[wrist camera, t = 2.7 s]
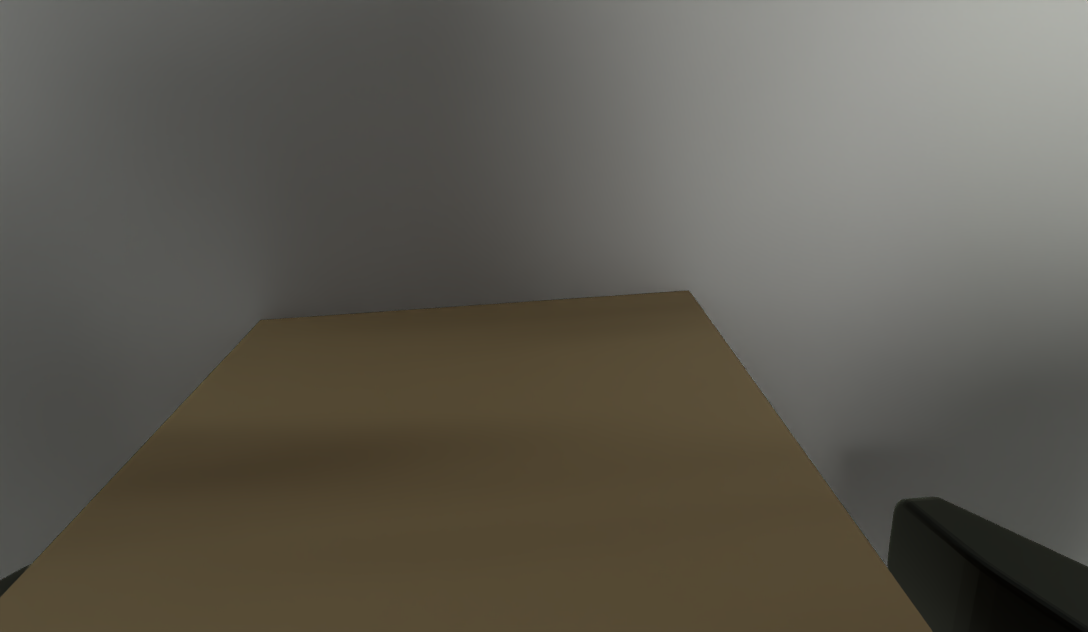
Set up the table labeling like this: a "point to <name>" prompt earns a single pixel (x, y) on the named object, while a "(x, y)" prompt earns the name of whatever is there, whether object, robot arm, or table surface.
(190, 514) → the walnut block
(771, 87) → the table surface
